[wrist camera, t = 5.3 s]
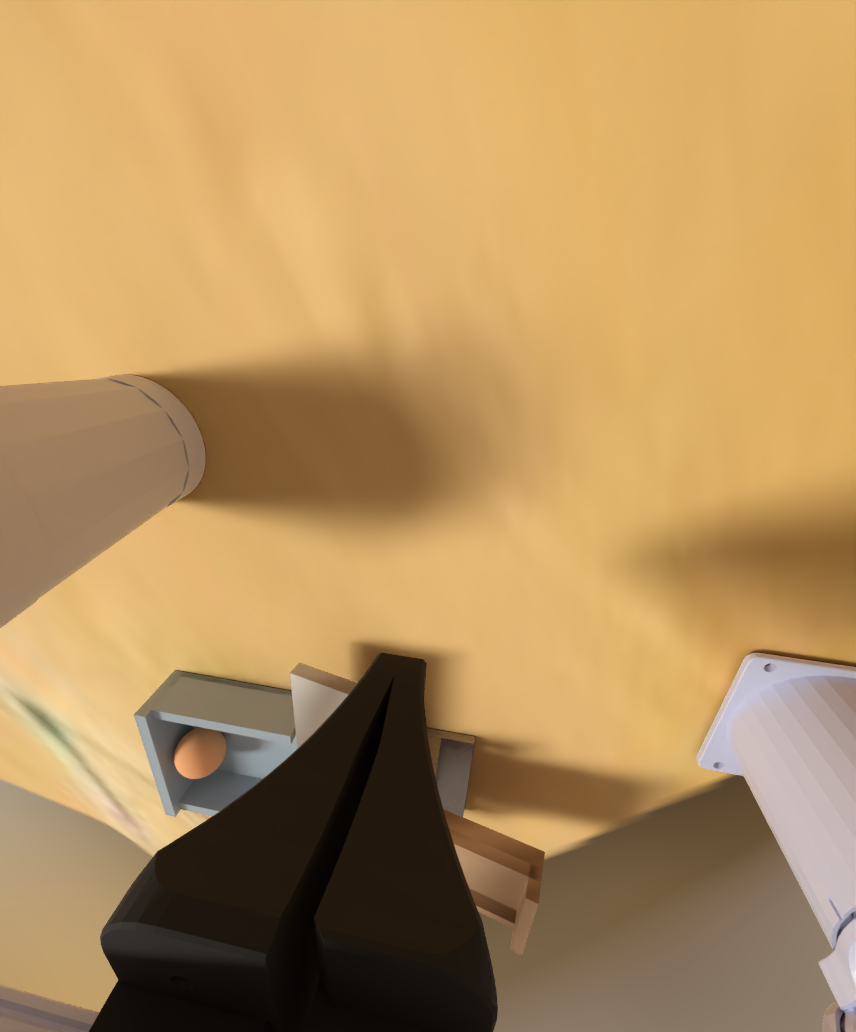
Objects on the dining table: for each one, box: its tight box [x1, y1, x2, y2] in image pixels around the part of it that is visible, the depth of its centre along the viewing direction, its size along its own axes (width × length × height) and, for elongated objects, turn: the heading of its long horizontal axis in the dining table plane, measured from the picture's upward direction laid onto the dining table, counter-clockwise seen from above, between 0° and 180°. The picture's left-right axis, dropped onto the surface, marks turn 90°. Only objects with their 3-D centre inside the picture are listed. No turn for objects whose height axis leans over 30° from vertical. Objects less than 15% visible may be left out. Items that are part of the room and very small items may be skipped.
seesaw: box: [290, 663, 545, 955], centre depth 23 cm, size 14×12×2 cm
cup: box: [0, 375, 206, 628], centre depth 16 cm, size 8×8×12 cm
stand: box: [427, 728, 475, 817], centre depth 26 cm, size 6×7×5 cm
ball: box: [174, 727, 226, 779], centre depth 28 cm, size 3×3×3 cm
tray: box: [134, 670, 297, 817], centre depth 28 cm, size 9×9×4 cm
